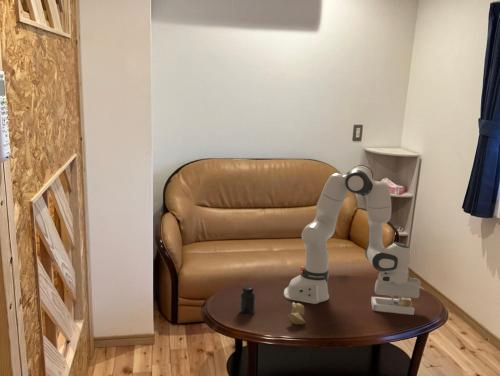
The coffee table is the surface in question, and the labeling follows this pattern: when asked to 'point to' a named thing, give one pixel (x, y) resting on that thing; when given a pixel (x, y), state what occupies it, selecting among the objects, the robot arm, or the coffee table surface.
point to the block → (405, 302)
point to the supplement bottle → (247, 300)
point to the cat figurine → (297, 313)
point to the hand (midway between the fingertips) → (395, 304)
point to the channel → (389, 306)
